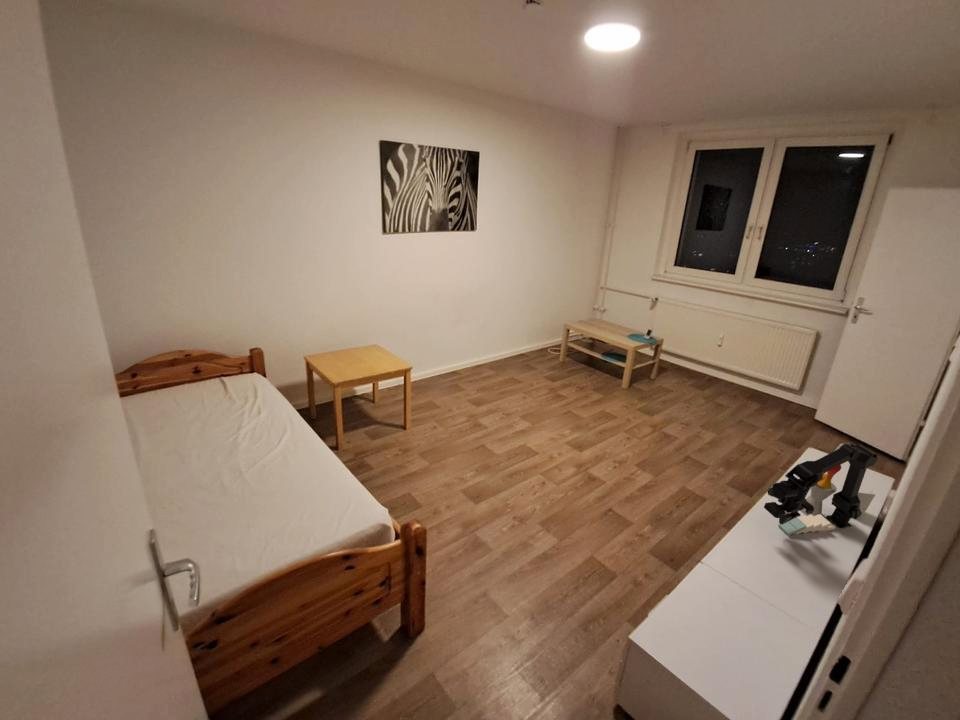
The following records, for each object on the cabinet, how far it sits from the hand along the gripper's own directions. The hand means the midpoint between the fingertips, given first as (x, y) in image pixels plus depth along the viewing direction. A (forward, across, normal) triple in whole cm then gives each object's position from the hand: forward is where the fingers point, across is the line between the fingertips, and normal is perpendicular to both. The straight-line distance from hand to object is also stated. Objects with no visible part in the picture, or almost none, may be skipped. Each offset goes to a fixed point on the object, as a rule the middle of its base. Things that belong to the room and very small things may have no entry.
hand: (780, 523), depth 174 cm
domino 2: (+4, -7, 0) cm, 8 cm away
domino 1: (+4, -3, 0) cm, 5 cm away
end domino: (+4, -19, 0) cm, 20 cm away
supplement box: (+5, -46, -6) cm, 46 cm away
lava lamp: (+5, -26, -8) cm, 28 cm away
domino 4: (+4, -15, 0) cm, 16 cm away
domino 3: (+4, -11, 0) cm, 12 cm away
